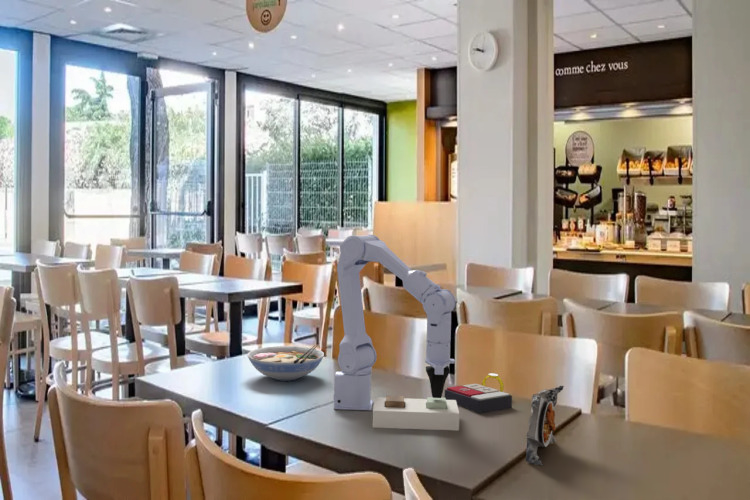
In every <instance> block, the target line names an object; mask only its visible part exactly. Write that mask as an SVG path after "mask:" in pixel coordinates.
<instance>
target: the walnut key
mask: <svg viewBox="0 0 750 500" xmlns="http://www.w3.org/2000/svg"><path fill="white" fill-rule="evenodd" d="M385 398H386V407H393V408H404V398H405V396H403V395H386V396H385Z"/></svg>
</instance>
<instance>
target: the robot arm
mask: <svg viewBox="0 0 750 500" xmlns="http://www.w3.org/2000/svg"><path fill="white" fill-rule="evenodd" d="M339 251H340V255H339V258H338V262H337V264H336V265H337V266H336V269H337V270H336V271H337V280H338V288H339V289H338V290H339V296H340V298H339V299H340V306H341V314H342V323H343V331H344V332H343V333H344V336H343V338H342V339H341V341H340V343H339V345H338V346H339V353H338V356H337V364H338V367H339V368H340V370H339V371H335V375H334V388H333V389H334V392H333V402H334V403H333V409H334V410H344V411H345V410H347V411H348V410H351V411H353V410H354V411H372V410H373V403H374V401H373V400H372V399H371V398H372V397H371V396H372V395H371V394H372V392H371V391H372V389H371V388H372V371H373V369H372V368H373V366H374V365H375V364H376V362H377V357H378V356H377V351H376V349H375V347H374V345H373V340H372V338H371V336H370V335H368V334H367V332H366V323H365V315H364V307H363V306H364V305H363V298H362V288H361V287H362V286H361V279H360V273H361V271H362V270H363V269H364V268H365V266H367V264H368V263H370V262H376V263H379V264H381V265H382V266H383V267H384V268H386V269H387V270H388V271H390V272H391V273H392V274H393V275H394V276H396V277H398V278H399V279H400V280H401V281H402V287H403V289H404V290H405V291H407V292H408V293H409V294H410V295H411V296H412V297H413V298H414V299H416V300H417V301H418V302H419V303H421V305H422V308H423V311H424V312H425V314H426V341H425V345H426V347H425V359H424V362H425V364H427V365H428V366H425V371H426V372H425V373H426V374H427V377H428V379H429V384H430V390H431V391H430V392H431V397H433V398H443V397H442V396H443V392H444V390H445V389H444V388H445V383H446V380H447V378H448V376H449V374H450V372H451V371H450V367H449V365H450V364H455V363H456V360H455V359H454V358H451V339H452V337H451V336H452V335H451V334H452V332H451V331H452V312H453V311H454V309H455V307H456V303H457V302H456V298H455V295H454V294H453V293H452V292H451V291H450V290H449V289H445V288H443V289H442V288H441V287H442V286H441V285H440V284H436V283H435V281H433V280H432V279H431V278H429V277H428V276H427V272H426V271H424V270H420V269H414V270H413V269H412V268H410V267H409V266H408V265H407V264H406V263H405V262H404V261H403V260H402V259H400V257H399V256H398V255H396V254H395V252H393V251H392V249H390V248H389V246H387V244H386V242H385V241H383V240H381V239H380V238H379V237H378V236H376V235H374V234H367V235H350V236H347V237H346V238H345V239H344V240H343V241H342V243H341V244H340V245H339Z"/></svg>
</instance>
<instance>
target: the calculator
mask: <svg viewBox="0 0 750 500" xmlns="http://www.w3.org/2000/svg"><path fill="white" fill-rule="evenodd" d="M444 398H446V400H456V402H457V406H459V407H463V408H466V409H468V410H469V411H472V412H474V413H475V414H479V415H481V414H488V413H493V412H498V411H499V412H500V411H505V410H510V409H513V395H511V394H510V393H507V392H504V391H503V392H500V389H496V388H493V387H490V386H486V385H485V386H482V384H479V383H470V384H464V385H455V386H450V387H446V389H444Z"/></svg>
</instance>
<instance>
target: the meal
mask: <svg viewBox="0 0 750 500" xmlns="http://www.w3.org/2000/svg"><path fill="white" fill-rule="evenodd" d="M564 387H565V386H564V385H559V386H557V387H552V388H549V389H546V388H543V389H542V390H540V391H538V392H537V393H535V394H532V395H531V400H530V406H529V407H530V408H531V409H530V412H531V415H530V416H529V419H528V423H527V424H528V431H527V432H526V435H525V436H526V449H525V461H526V462H527V463H529V464H531V465H537V466H538V465H540V466H544V464H543V462H542V461H541V460H540V456H539V455H538V448H539V447H542V448H547V446H548V445H549V444H552V443H553V444H555V443H556V438H555V435H553V432H554V431H556V429H557V428H556V423H555V420H556V418H555V416H556V412H555V410H554V409H555V406H556V404H557V403H558V395H559V393H561V391H563V390H564Z"/></svg>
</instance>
